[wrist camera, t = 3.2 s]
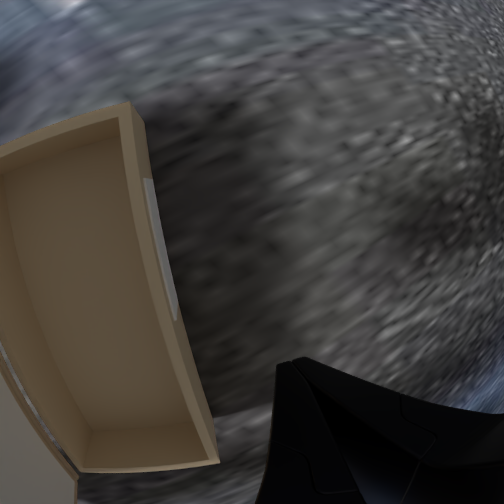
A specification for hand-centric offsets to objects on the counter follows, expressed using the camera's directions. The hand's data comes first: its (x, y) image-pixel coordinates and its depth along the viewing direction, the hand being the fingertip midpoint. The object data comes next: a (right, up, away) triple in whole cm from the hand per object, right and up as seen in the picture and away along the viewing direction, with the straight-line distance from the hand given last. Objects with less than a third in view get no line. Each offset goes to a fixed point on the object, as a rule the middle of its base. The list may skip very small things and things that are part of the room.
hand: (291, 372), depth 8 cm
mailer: (-9, 0, +7) cm, 12 cm away
